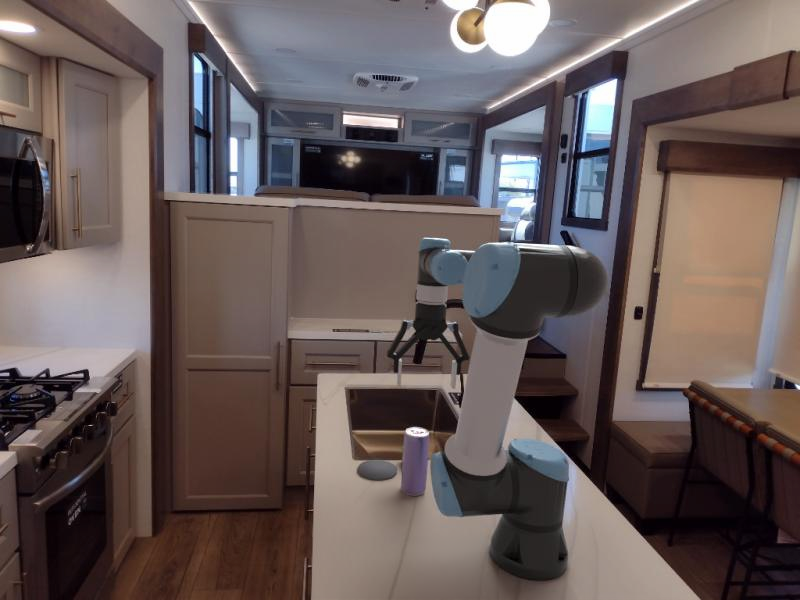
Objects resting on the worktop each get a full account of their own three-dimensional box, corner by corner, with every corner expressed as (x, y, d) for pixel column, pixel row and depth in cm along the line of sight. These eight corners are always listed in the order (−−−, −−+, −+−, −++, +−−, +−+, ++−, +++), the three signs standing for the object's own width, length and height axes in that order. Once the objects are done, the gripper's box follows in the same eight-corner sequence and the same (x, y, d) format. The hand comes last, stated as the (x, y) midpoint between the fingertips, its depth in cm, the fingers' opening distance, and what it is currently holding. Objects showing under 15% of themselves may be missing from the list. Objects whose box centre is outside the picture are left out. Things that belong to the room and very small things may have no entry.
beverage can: (425, 497, 136) (430, 437, 133) (400, 496, 136) (404, 435, 134) (425, 485, 142) (429, 427, 139) (401, 483, 142) (404, 425, 139)
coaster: (398, 480, 144) (398, 478, 143) (358, 480, 142) (358, 477, 142) (395, 462, 153) (395, 460, 153) (357, 461, 152) (357, 459, 152)
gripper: (478, 301, 145) (472, 383, 149) (379, 297, 143) (375, 380, 146) (485, 306, 138) (478, 392, 141) (380, 302, 136) (376, 389, 139)
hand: (425, 386), depth 144 cm, fingers open, 13 cm apart
